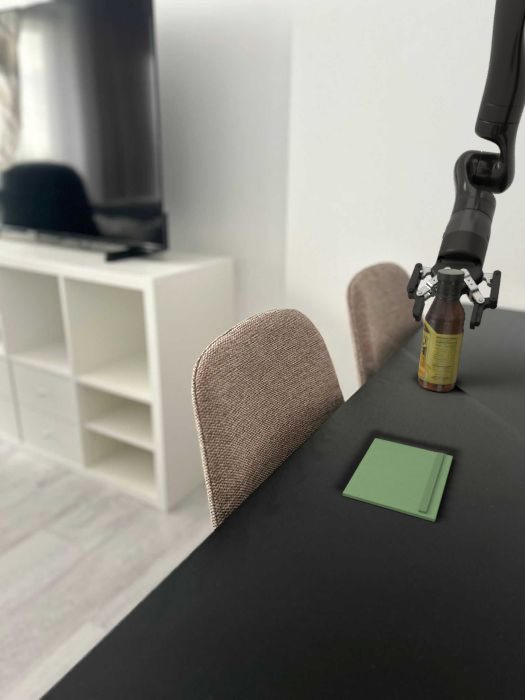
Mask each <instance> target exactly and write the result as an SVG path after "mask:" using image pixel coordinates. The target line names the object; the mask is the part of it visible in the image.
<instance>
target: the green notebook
mask: <svg viewBox="0 0 525 700" xmlns="http://www.w3.org/2000/svg"><path fill="white" fill-rule="evenodd" d="M453 458H454V457H453V455H449V454H446V453H444V452H439V451H438V452H436V451H432V450H428V449H424V448H419V447H416V446H411V445H406V444H403V443H399V442H394V441H390V440H386V439H385V440H384V439H381V438H378V437H377V438H376V437H374V440H373V441H372V442H371V444H370V446H369V448H368V449H367V451H366V452H365V454H364V456H363V458H362V460H361V461H360V462H359V464H358V466H357V468H356V470H355V471H354V473H353V475H352V476H351V478H350V479H349V482H348V483H347V485H346V486H345V488H344V490H343V491H342V496H343V497H347V498H348V499H349V498H350V499H353V500H356V501H360V502H363V503H366V504H371V505H374V506H378V507H381V508H384V509H388V510H391V511H394V512H397V513H401V514H406V515H409V516H412V517H416V518H419V519H423V520H426V521H429V522H433V523H435V522H436V520H437V516H438V512H439V508H440V505H441V501H442V497H443V496H444V495H443V494H444V490H445V487H446V483H447V480H448V476H449V472H450V469H451V465H452V462H453Z"/></svg>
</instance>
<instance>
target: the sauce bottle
mask: <svg viewBox="0 0 525 700" xmlns="http://www.w3.org/2000/svg"><path fill="white" fill-rule="evenodd" d="M464 276H465V272H464V271H461V270H457V269H440V270H438V274H437V280H438V282H437V290H436V294H435V296H434V297H433V300H432V302H431V304H430V306H429V308H428V310H427V312H426V314H425V316H424V321H423V330H422V338H421V339H422V340H421V347H420V355H419V356H420V357H419V364H418V372H417V376H418V383H419V386H420V387H421V388H423V389H426V390H428V391H433V392H439V393H448V392H450V391H452V390H454V389H455V388H456V382H457V378H458V373H459V367H460V359H461V354H462V348H463V347H462V346H463V341H464V333H465V322H466V312H465V308H464V306H463V305H462V303H461V298H462V296H461V289H462V283H463V281H464Z"/></svg>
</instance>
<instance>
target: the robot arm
mask: <svg viewBox="0 0 525 700" xmlns="http://www.w3.org/2000/svg"><path fill="white" fill-rule="evenodd" d="M493 12H494V13H493V21H492V32H491V33H492V34H491V42H490V53H489V61H488V67H487V74H486V79H485V82H484V88H483V92H482V95H481V100H480V103H479V106H478V107H479V108H478V111H477V116H476V121H475V124H474V134H475V135H476V136H477V138H480V139H483V140H485V141H488V142H490V143H492V144H494V145H496V146H497V147H498V151H499V152H494V151H486V150H478V149H469V150H465V151H464V152H462V153H461V154H460V155H459V156H457V158H456V160H455V162H454V165H453V170H452V171H453V172H452V175H453V178H452V179H453V185H454V186H453V188H454V202H453V205H452V210H451V213H450V217H449V220H448V222H447V224H446V226H445V229H444V232H443V234H442V239H441V244H440V247H439V251H438V254H437V257H436V261H435V264H434V265H433V266H432V267H428V266H423V263H421V262H416V264H415V265H414V267H413V270H412V273H411V275H410V278H409V281H408V283H407V286H406V293H407V298H408V299H409V300H414V303H413V306H412V311H411V312H412V317H413V319H414V321H415V322H418V323H420V322H421V320H422V317H423V313H424V310H425V306H426V302H427V301H428V300H430V299H431V298H435V294H436V290H437V282H438V280H437V274H438V270H440V269H457V270H461V271H464V272H465V276H464V281H463V283H462V289H461V297H463V295H466V297H467V299H468V301H470V303H472V305H473V308H472V312H471V316H470V320H469V330H475V329H476V327H477V328H479V326H480V325H481V323H482V319H483V315H484V311H485V310H487V309H490V310H496V309H497V308H498V302H499V295H500V288H501V281H502V271H501V270H499V269H496V270H494V271H492V272H484V270H483V269H484V264H485V260H486V256H487V251H488V248H489V244H490V240H491V235H492V226H493V221H494V217H495V212H496V208H497V199H496V196H495V195H501V194H503V193H506V192H507V190H509V189H510V187H511V186H512V185H513V183H514V181H515V180H514V179H515V177H516V176H515V175H516V143H517V136H518V130H519V128H520V127H519V126H520V123H521V119H522V116H523V113H524V109H525V0H495V3H494V11H493ZM428 276H430V277H431V279H429V280H428V281H427V282H426V283H425V285H423V286H421V287H420V284H421V282H422V281H424V280H425V279H426V278H427V277H428ZM483 282H486V286H487V287H489V288H490V292H489V296H488V297H484V295H483V294H482V293H481V292H480V291H481V290H480V288H479V285H480V284H481V283H483ZM419 287H420V288H419Z"/></svg>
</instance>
